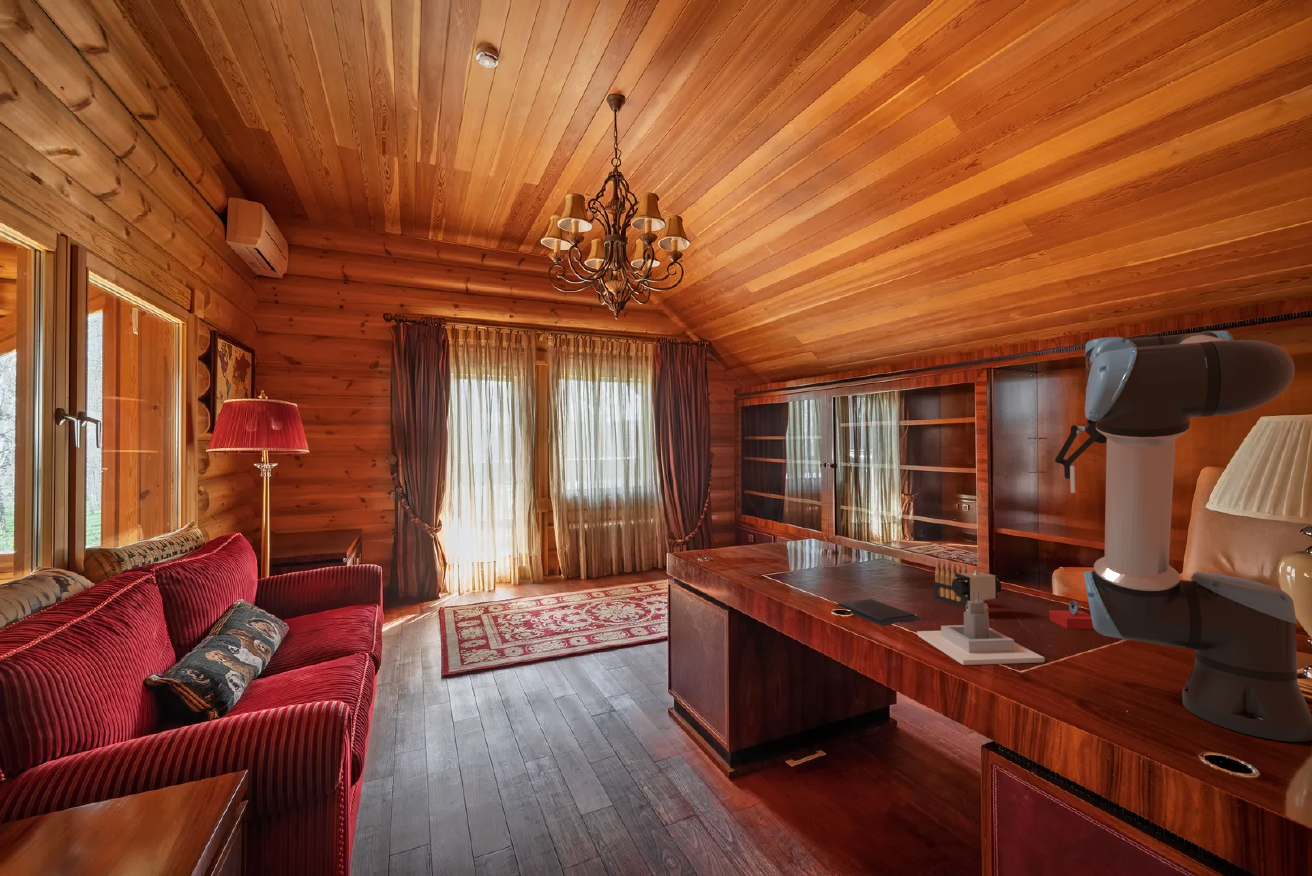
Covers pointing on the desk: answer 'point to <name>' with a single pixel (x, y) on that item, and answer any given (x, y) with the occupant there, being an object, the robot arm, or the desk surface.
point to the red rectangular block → (1072, 617)
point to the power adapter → (976, 620)
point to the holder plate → (979, 647)
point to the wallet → (878, 612)
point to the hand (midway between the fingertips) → (1109, 493)
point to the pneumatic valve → (976, 586)
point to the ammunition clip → (947, 583)
